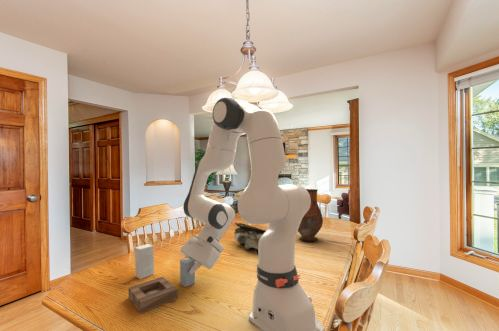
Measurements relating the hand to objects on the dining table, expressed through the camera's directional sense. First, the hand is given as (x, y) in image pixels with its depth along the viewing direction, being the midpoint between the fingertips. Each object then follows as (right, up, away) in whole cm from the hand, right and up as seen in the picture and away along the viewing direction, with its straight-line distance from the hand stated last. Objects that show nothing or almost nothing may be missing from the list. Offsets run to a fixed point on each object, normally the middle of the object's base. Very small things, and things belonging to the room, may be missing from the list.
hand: (185, 271), depth 95 cm
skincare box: (-19, -5, +7) cm, 21 cm away
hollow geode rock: (+26, -4, +41) cm, 49 cm away
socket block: (-9, -5, -10) cm, 14 cm away
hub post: (0, -5, +1) cm, 5 cm away
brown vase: (+57, -4, +52) cm, 77 cm away
